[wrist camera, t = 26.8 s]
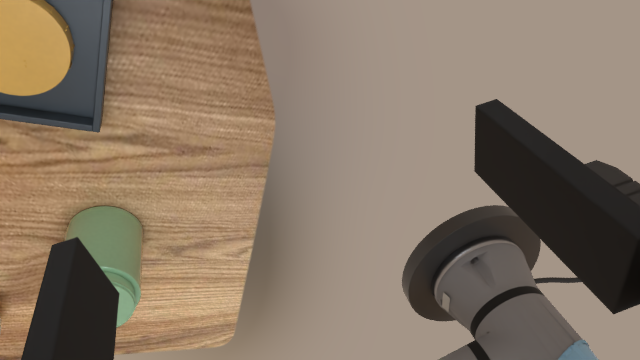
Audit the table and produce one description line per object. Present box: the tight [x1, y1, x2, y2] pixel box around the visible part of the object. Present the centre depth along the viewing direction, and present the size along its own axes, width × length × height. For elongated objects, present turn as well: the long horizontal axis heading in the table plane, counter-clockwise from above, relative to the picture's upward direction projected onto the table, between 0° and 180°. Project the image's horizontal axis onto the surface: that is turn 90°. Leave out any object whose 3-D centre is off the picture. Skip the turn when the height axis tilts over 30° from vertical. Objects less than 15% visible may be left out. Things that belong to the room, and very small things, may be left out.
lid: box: [0, 0, 75, 96], centre depth 36 cm, size 8×8×2 cm
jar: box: [64, 206, 143, 328], centre depth 46 cm, size 8×8×10 cm
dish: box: [0, 0, 113, 132], centre depth 37 cm, size 13×13×2 cm
